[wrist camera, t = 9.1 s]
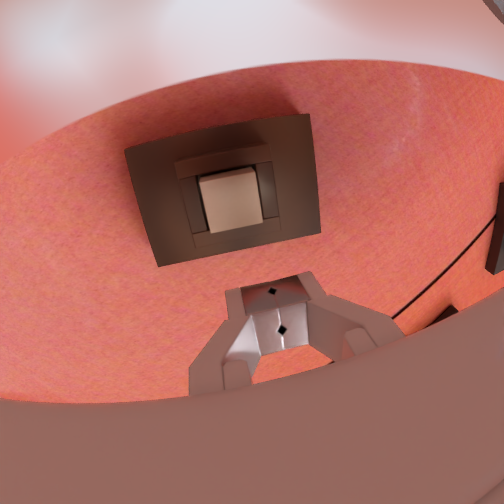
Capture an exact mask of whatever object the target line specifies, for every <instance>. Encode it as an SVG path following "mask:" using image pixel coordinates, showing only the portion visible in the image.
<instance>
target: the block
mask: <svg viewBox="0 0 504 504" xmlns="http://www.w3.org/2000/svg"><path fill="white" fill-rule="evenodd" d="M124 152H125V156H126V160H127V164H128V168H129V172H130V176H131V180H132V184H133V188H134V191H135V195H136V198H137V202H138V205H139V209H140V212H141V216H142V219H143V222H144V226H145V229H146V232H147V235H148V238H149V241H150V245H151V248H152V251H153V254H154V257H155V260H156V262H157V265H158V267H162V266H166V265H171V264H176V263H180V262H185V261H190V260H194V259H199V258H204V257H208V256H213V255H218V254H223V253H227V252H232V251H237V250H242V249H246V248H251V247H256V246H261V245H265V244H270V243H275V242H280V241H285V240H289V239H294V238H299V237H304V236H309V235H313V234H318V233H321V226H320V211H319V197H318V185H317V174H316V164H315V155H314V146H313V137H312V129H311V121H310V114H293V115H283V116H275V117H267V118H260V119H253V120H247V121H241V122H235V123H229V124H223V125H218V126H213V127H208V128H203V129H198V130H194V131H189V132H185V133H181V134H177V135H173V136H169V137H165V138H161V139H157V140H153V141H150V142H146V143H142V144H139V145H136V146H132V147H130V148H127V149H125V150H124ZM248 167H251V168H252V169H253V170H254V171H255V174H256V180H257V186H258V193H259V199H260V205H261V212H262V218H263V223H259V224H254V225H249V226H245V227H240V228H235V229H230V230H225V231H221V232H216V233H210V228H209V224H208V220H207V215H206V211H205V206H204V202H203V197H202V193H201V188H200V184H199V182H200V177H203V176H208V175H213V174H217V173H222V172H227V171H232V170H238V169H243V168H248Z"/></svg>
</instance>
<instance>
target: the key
mask: <svg viewBox="0 0 504 504" xmlns="http://www.w3.org/2000/svg"><path fill="white" fill-rule="evenodd" d="M199 184H200V188H201V193H202V197H203V202H204V206H205V211H206V215H207V220H208V224H209V228H210V233H216V232H221V231H225V230H230V229H235V228H240V227H245V226H249V225H254V224H259V223H263V218H262V212H261V205H260V199H259V193H258V186H257V180H256V174H255V171H254V170H253V169H252V168H251V167H248V168H243V169H238V170H232V171H227V172H222V173H217V174H213V175H208V176H203V177H200V182H199Z"/></svg>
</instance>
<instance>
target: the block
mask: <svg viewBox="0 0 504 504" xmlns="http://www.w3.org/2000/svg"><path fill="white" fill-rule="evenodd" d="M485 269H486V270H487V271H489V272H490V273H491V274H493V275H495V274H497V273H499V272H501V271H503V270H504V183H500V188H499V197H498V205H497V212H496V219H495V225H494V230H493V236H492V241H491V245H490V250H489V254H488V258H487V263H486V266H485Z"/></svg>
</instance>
